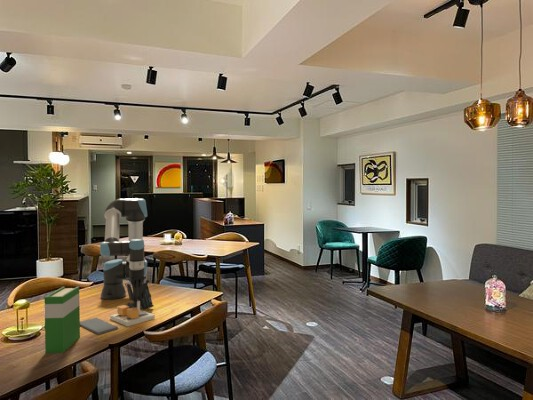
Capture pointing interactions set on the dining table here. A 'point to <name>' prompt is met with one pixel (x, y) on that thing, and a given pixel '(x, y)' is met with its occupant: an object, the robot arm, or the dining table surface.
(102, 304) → the dining table surface
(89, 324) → the mat
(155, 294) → the dining table surface
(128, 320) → the light grey tray
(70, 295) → the hardback book
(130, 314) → the orange block
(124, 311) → the orange wooden block
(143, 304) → the gun
